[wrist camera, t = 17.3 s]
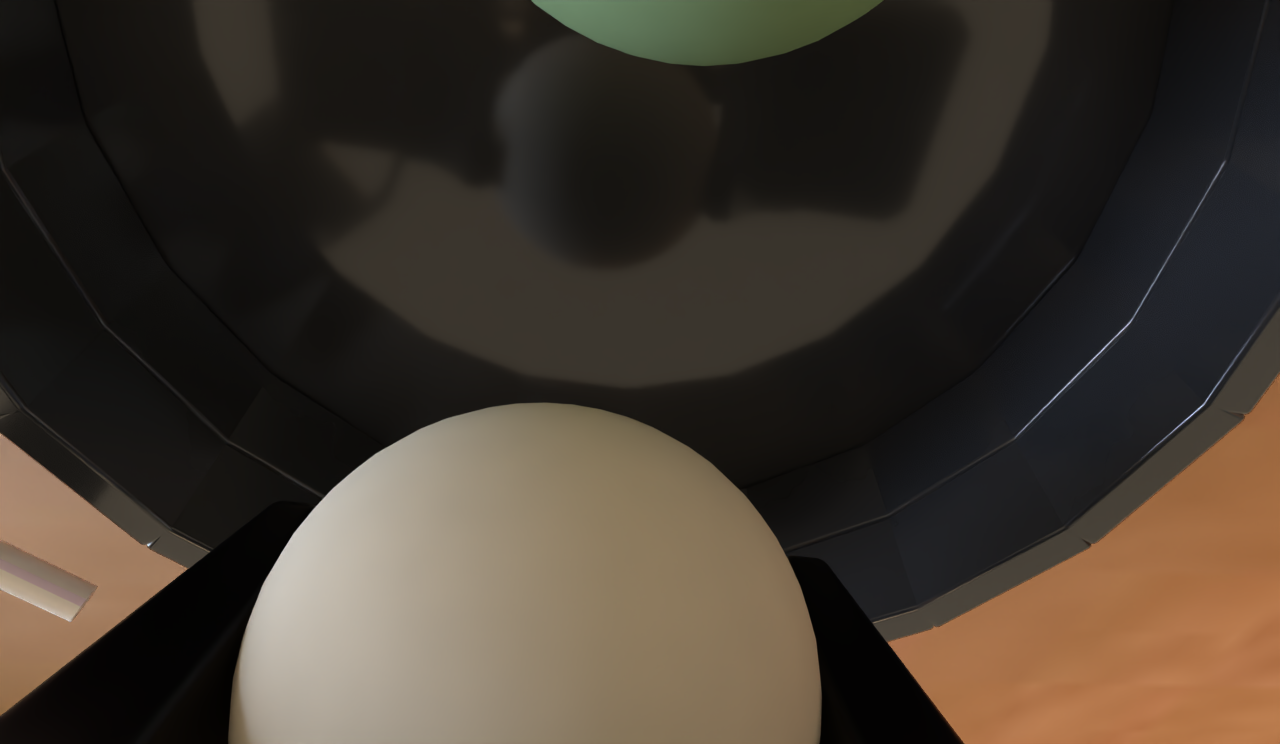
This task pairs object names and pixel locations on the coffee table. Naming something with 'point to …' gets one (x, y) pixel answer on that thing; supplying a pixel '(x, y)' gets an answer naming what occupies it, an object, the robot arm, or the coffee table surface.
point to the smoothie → (42, 583)
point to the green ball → (706, 26)
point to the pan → (648, 260)
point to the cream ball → (530, 598)
